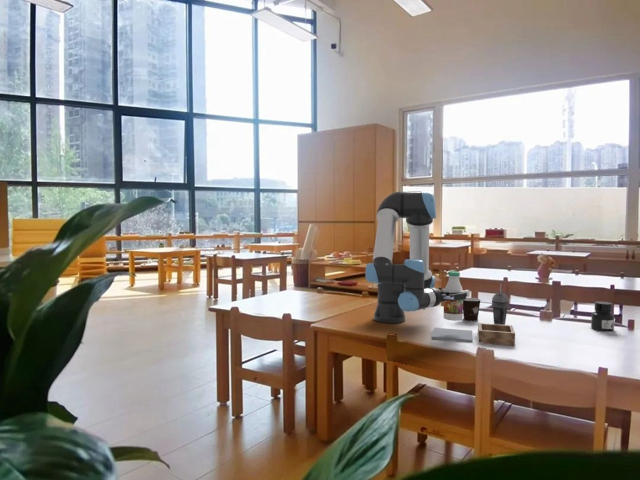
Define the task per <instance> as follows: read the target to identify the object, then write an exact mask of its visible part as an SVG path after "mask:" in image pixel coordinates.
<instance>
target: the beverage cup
mask: <svg viewBox="0 0 640 480" xmlns="http://www.w3.org/2000/svg"><path fill="white" fill-rule="evenodd" d="M491 304H492V314H493V315H492V316H493V324H498V325H506V320H507V313H508V307H509V298H508V296H507V295H506V294H505V293H503V292H502V283H500V284H499V292H497V293H494V295H493V296H492V299H491Z"/></svg>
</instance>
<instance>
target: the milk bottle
mask: <svg viewBox="0 0 640 480" xmlns="http://www.w3.org/2000/svg"><path fill="white" fill-rule="evenodd" d="M447 275H448V281H447V282H446V283H447V284H446V285H445V287H444V289H445V291H444V292H449V293H454V292H460V291H464V290H463V287H462V284H461V281H460V276H461V273H460V272H459V271H453V270H452V271H448V272H447ZM463 318H464V316H463V300H456V301H452V302H451V301H450V299H449V300H448V301H443V319H444V320H446V321H447V320H448V321H456V322H458V321H462V320H463Z"/></svg>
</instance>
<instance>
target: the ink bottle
mask: <svg viewBox="0 0 640 480" xmlns="http://www.w3.org/2000/svg"><path fill="white" fill-rule="evenodd" d="M612 312H613V303H612V302H608V301H594V311H593V312H592V313H591V316H590V317H591V318H590V319H591V322H590V323H591V325H590V328H591V329H593V330H595V329H597V330H596V331H600V330H604V331H603V332H609V331H608V330H613V331H614V330H615V315H614V314H613V313H612Z"/></svg>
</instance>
